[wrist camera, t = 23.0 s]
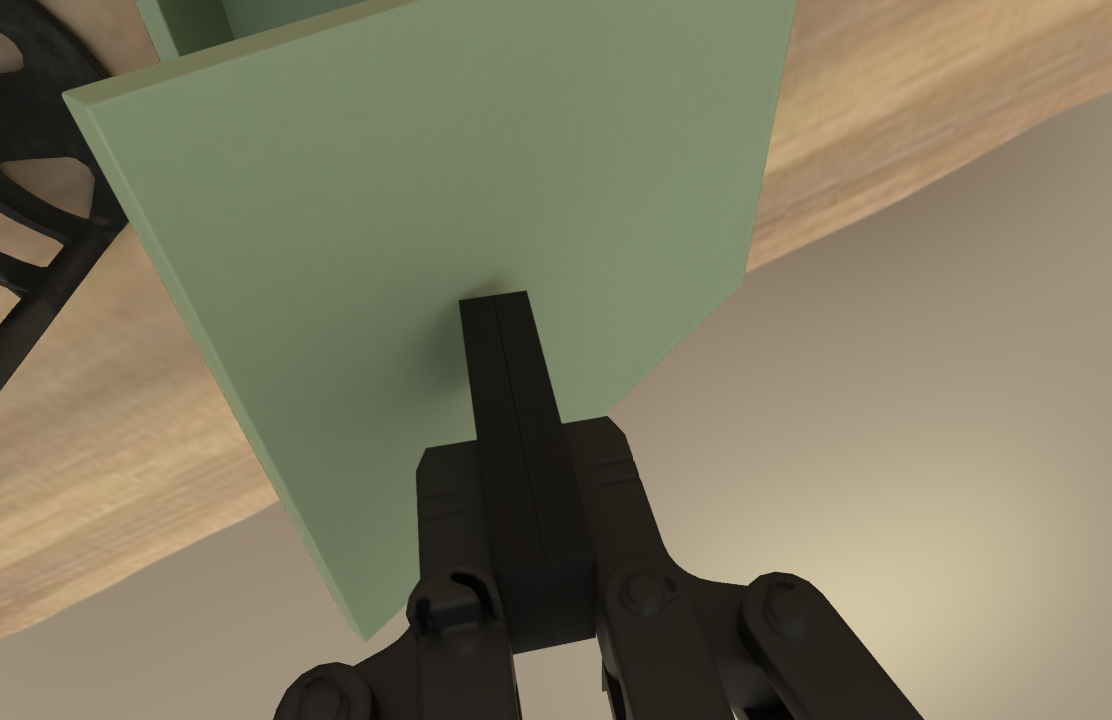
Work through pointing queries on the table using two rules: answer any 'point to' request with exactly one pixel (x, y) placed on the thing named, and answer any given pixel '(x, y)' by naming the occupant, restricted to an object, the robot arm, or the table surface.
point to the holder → (46, 132)
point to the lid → (436, 223)
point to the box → (221, 20)
